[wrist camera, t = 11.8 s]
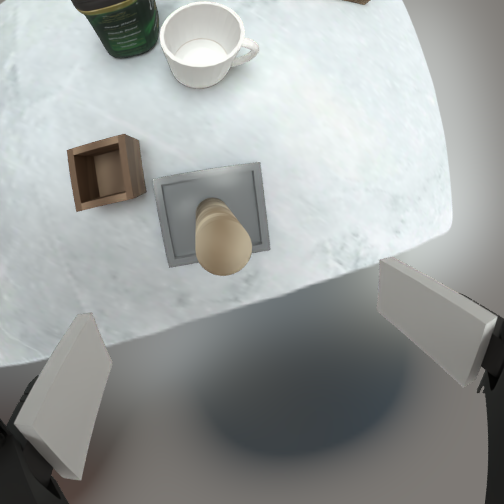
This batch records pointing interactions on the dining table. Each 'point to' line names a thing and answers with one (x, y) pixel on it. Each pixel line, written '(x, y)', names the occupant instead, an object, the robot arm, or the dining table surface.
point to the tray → (200, 188)
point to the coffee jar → (122, 24)
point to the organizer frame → (359, 1)
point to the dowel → (220, 239)
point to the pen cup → (106, 172)
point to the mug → (204, 43)
